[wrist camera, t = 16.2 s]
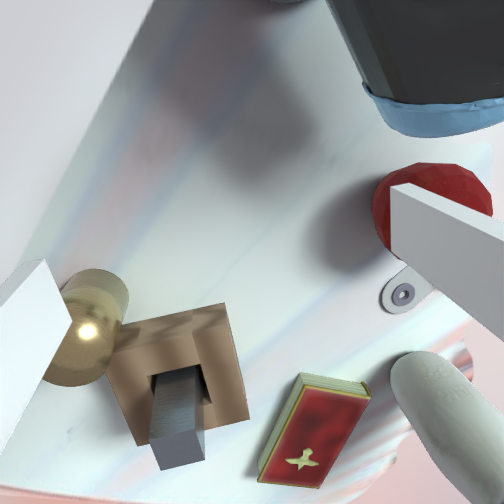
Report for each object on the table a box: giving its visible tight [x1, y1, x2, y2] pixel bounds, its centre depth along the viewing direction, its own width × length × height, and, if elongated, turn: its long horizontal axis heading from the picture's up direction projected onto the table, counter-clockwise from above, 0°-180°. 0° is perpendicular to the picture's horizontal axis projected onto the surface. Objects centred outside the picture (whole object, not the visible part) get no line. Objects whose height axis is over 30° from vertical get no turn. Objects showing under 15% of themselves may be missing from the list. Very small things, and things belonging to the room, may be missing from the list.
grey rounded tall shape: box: [390, 351, 504, 504], centre depth 48 cm, size 10×10×28 cm
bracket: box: [382, 265, 435, 314], centre depth 54 cm, size 7×10×4 cm, turn 132°
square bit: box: [148, 364, 205, 471], centre depth 47 cm, size 5×5×14 cm
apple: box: [371, 162, 493, 261], centre depth 43 cm, size 12×12×13 cm
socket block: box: [105, 303, 250, 447], centre depth 52 cm, size 16×16×6 cm
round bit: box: [42, 269, 129, 387], centre depth 43 cm, size 8×8×12 cm
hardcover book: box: [257, 372, 372, 489], centre depth 62 cm, size 12×21×4 cm, turn 161°
